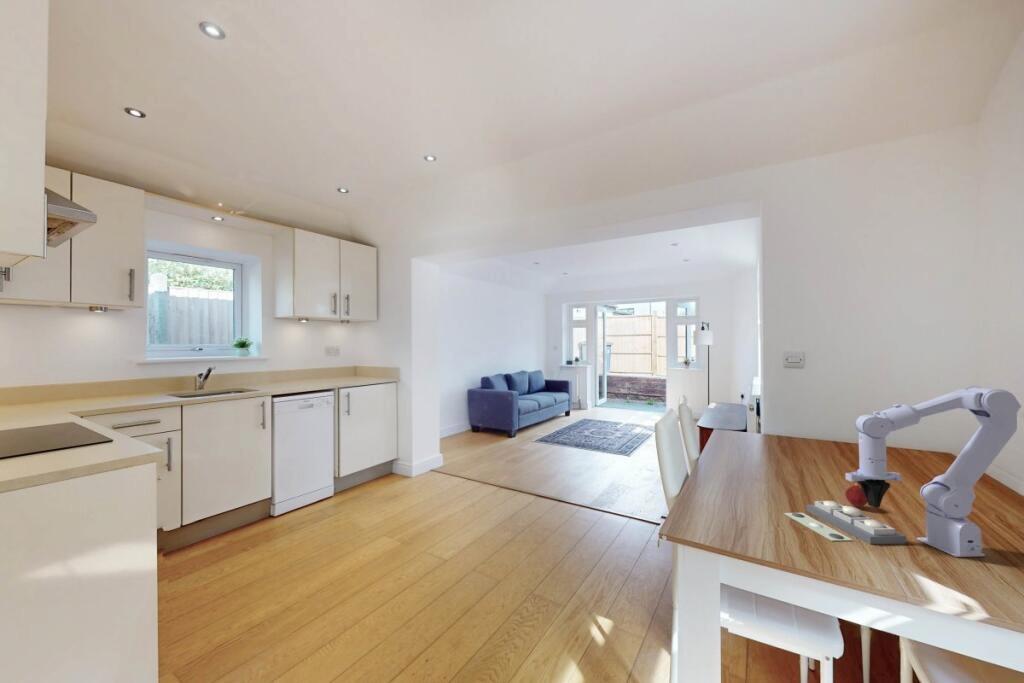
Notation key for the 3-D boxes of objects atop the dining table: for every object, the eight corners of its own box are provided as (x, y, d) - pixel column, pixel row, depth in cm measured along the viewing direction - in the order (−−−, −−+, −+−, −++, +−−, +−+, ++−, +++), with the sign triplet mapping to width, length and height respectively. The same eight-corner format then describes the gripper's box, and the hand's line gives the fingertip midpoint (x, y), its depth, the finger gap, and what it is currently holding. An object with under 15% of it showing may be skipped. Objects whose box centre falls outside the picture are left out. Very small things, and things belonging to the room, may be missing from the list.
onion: (873, 511, 127) (872, 487, 127) (852, 510, 128) (852, 485, 128) (861, 504, 133) (860, 481, 133) (841, 503, 134) (841, 480, 134)
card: (853, 540, 108) (853, 539, 108) (832, 541, 107) (831, 539, 107) (802, 513, 126) (802, 512, 126) (784, 513, 125) (784, 512, 125)
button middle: (864, 517, 115) (863, 511, 115) (851, 517, 115) (850, 511, 115) (851, 511, 119) (851, 505, 119) (839, 511, 119) (839, 506, 119)
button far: (843, 511, 122) (843, 505, 122) (830, 511, 122) (830, 505, 122) (832, 506, 126) (832, 500, 126) (820, 506, 126) (820, 500, 126)
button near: (887, 532, 108) (887, 525, 108) (873, 532, 108) (873, 525, 108) (874, 525, 112) (873, 519, 112) (860, 525, 112) (860, 519, 112)
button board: (906, 543, 106) (905, 530, 106) (870, 544, 106) (870, 531, 106) (836, 510, 128) (835, 499, 128) (806, 510, 128) (806, 500, 128)
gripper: (883, 453, 115) (884, 500, 115) (835, 454, 114) (836, 501, 114) (908, 460, 108) (909, 510, 108) (857, 461, 107) (859, 511, 107)
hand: (873, 506), depth 110 cm, fingers closed
